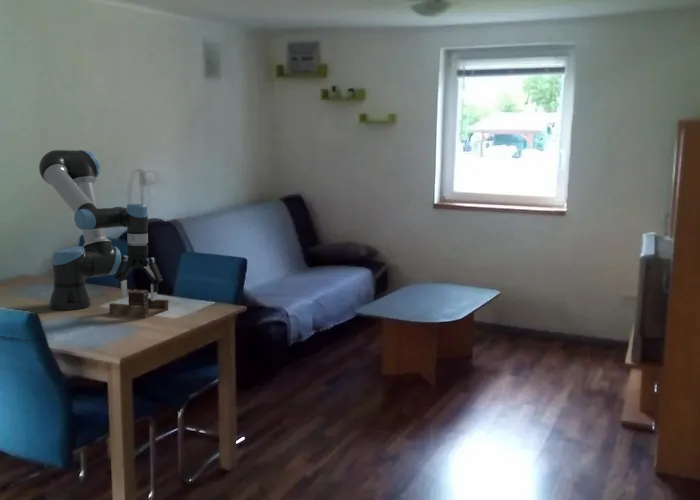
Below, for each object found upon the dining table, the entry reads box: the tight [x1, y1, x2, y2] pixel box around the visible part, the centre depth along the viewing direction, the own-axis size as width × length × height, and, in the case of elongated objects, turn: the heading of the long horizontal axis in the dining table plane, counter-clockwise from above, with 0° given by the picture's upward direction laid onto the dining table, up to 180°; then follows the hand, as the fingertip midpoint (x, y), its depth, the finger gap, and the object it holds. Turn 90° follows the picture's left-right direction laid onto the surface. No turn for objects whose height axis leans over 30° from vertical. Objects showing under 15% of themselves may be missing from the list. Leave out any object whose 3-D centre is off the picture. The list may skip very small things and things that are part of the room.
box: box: [127, 289, 150, 308], centre depth 265 cm, size 6×6×7 cm
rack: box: [108, 297, 169, 319], centre depth 266 cm, size 16×15×4 cm
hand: (138, 298), depth 265 cm, fingers open, 13 cm apart
